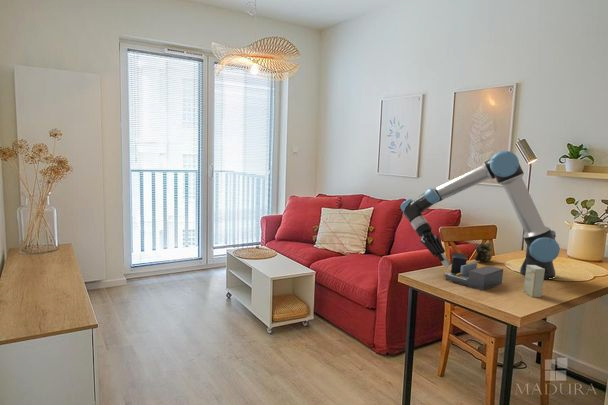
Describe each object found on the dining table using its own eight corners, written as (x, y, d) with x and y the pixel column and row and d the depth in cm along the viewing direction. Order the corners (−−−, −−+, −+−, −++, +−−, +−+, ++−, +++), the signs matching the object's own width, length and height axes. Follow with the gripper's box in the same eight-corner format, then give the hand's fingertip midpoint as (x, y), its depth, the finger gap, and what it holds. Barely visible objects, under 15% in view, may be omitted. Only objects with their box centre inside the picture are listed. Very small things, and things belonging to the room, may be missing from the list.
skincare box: (522, 292, 175) (525, 264, 173) (532, 292, 175) (535, 264, 173) (532, 297, 168) (535, 268, 167) (542, 297, 169) (545, 268, 167)
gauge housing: (501, 284, 185) (503, 269, 184) (481, 291, 174) (482, 275, 173) (465, 274, 199) (466, 260, 198) (443, 280, 188) (444, 265, 187)
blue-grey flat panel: (475, 276, 192) (476, 262, 191) (457, 281, 182) (458, 267, 182) (473, 275, 193) (474, 262, 192) (455, 281, 183) (456, 267, 182)
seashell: (466, 258, 230) (468, 241, 229) (485, 258, 232) (487, 241, 231) (476, 263, 220) (478, 245, 219) (496, 263, 221) (498, 245, 220)
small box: (465, 280, 188) (467, 258, 187) (450, 279, 190) (452, 257, 189) (464, 274, 198) (466, 253, 197) (450, 273, 200) (452, 252, 199)
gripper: (424, 229, 214) (450, 268, 203) (408, 231, 206) (434, 272, 195) (433, 221, 209) (461, 260, 198) (418, 223, 201) (445, 264, 190)
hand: (448, 266), depth 197 cm, fingers closed
